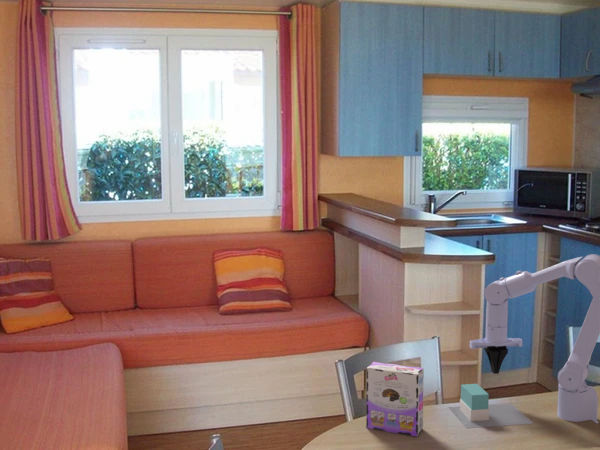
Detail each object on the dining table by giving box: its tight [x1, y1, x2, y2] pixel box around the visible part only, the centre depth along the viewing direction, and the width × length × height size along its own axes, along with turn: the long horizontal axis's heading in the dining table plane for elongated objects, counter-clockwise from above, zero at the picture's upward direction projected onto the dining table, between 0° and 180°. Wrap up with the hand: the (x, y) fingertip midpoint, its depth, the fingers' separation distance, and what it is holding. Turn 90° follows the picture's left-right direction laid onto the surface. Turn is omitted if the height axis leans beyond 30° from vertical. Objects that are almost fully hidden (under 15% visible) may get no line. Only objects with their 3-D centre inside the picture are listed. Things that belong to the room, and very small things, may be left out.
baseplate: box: [447, 398, 534, 429], centre depth 196 cm, size 18×14×4 cm
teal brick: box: [460, 383, 490, 410], centre depth 196 cm, size 4×8×4 cm, turn 8°
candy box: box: [365, 361, 425, 437], centre depth 189 cm, size 14×6×16 cm, turn 65°
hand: (495, 372), depth 204 cm, fingers closed
